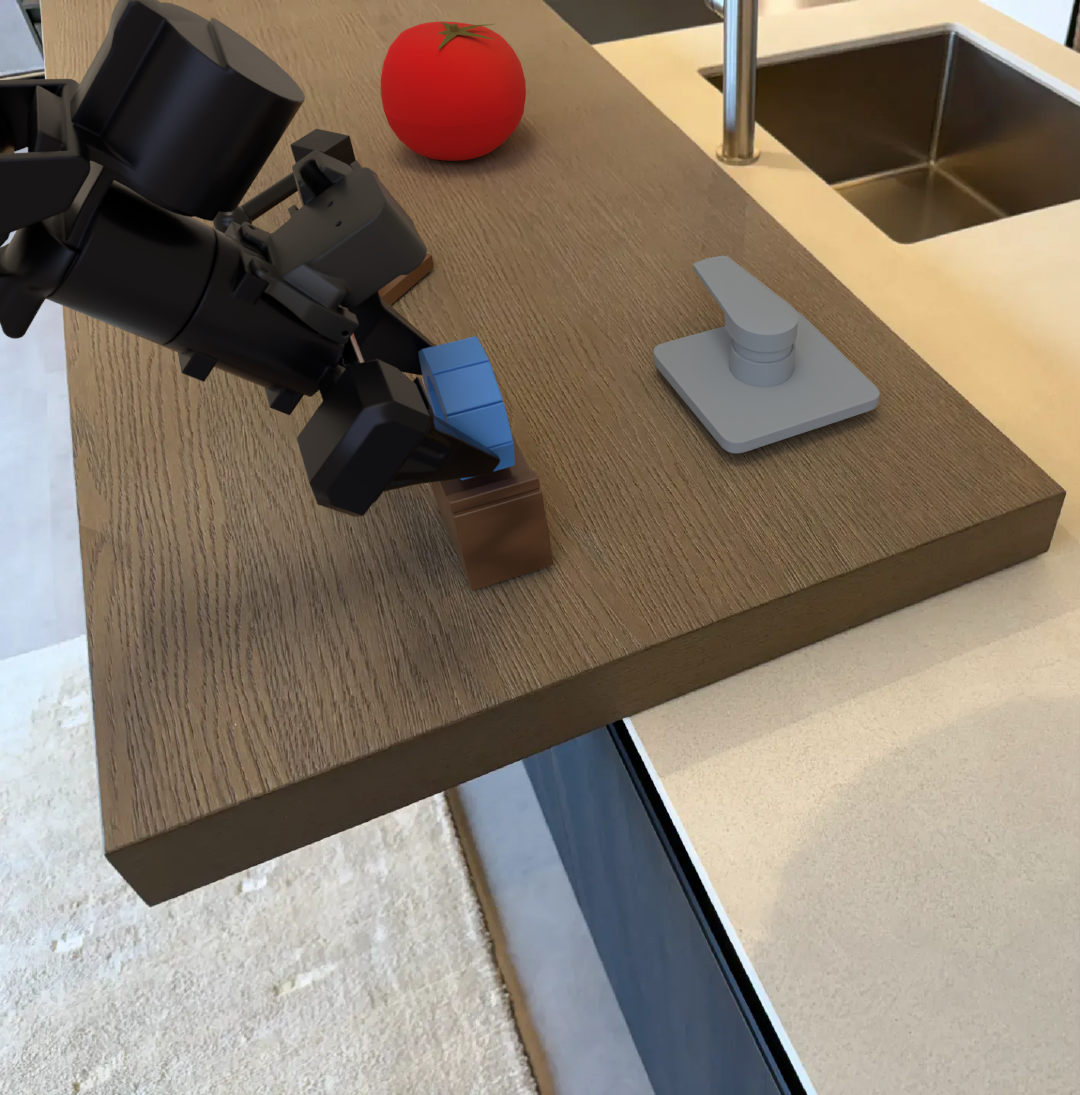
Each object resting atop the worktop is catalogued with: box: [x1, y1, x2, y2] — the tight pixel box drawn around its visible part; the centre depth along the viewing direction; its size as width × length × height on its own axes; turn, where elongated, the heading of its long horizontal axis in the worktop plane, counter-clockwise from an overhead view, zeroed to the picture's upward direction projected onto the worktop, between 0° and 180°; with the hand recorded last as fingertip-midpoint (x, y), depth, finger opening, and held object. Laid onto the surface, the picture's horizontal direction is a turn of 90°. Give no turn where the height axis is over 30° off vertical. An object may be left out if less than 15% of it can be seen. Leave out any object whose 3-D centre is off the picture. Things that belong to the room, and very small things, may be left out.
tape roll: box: [418, 335, 515, 480], centre depth 57 cm, size 3×8×7 cm, turn 26°
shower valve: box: [652, 255, 881, 454], centre depth 73 cm, size 12×6×15 cm
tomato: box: [380, 21, 527, 162], centre depth 95 cm, size 12×14×11 cm
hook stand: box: [212, 128, 435, 306], centre depth 77 cm, size 15×10×11 cm, turn 158°
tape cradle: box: [430, 431, 554, 591], centre depth 61 cm, size 5×8×7 cm, turn 25°
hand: (471, 415), depth 57 cm, fingers open, 9 cm apart
